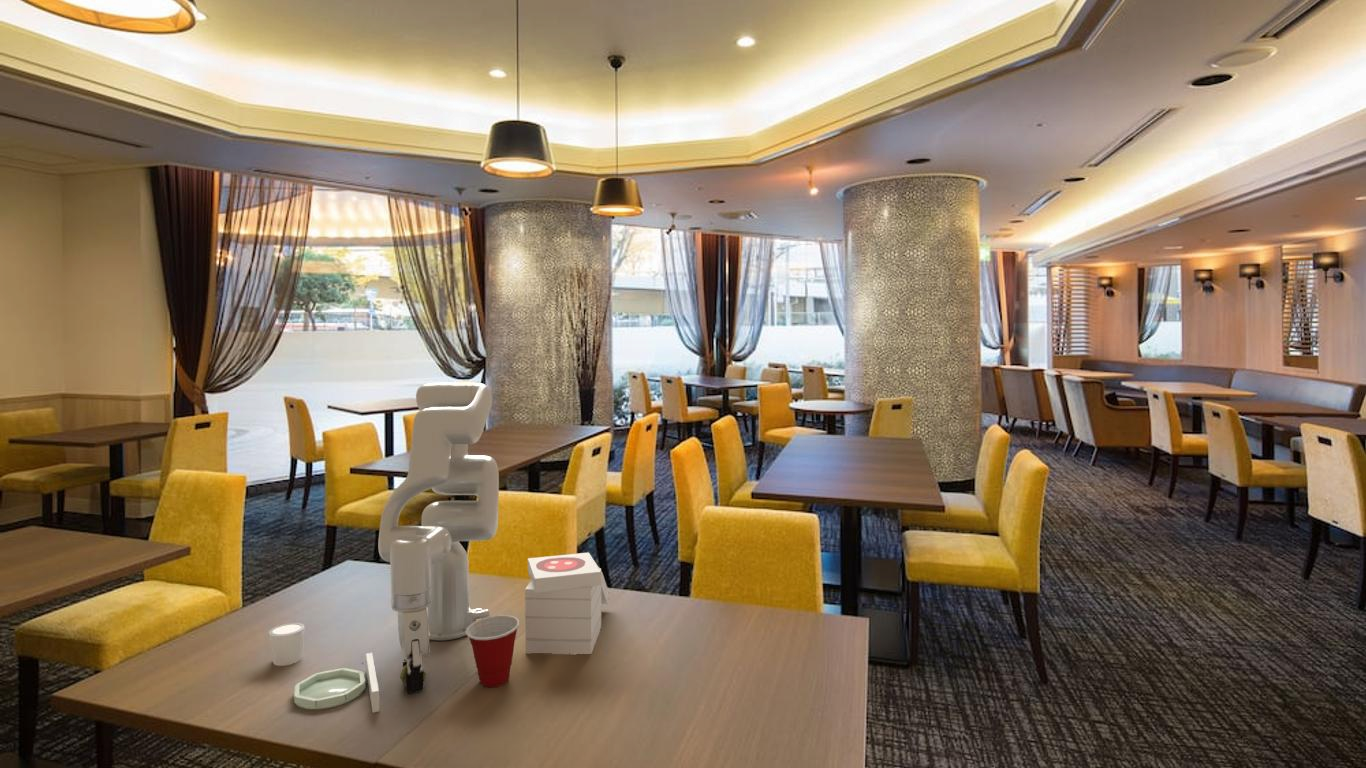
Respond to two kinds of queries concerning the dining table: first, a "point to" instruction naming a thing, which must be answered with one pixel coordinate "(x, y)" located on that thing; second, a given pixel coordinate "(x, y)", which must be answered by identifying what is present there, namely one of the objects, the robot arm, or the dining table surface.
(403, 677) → the lime
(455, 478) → the robot arm
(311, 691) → the dish
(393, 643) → the dining table surface
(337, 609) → the dining table surface
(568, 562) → the pizza boxes
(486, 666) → the plastic cup
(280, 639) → the white cylinder
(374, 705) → the fence
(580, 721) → the dining table surface
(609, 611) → the dining table surface
